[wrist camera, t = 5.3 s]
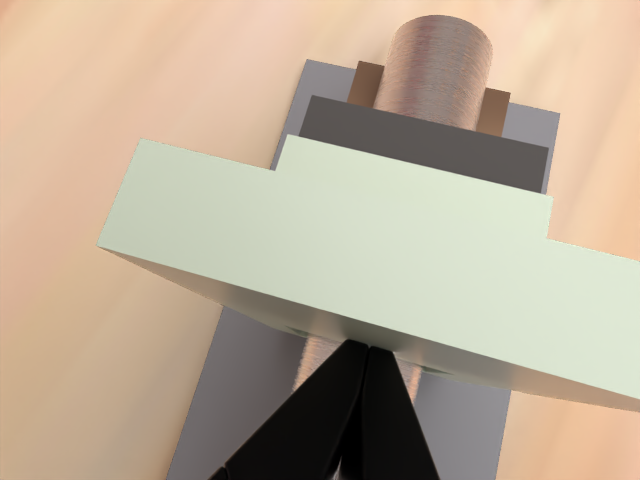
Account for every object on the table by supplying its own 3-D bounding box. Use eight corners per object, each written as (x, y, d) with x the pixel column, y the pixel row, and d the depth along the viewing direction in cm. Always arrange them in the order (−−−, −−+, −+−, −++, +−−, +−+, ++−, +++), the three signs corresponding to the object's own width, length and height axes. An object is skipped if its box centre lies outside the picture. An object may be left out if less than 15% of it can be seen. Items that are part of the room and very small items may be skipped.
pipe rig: (436, 767, 13) (509, 1098, 7) (117, 640, 14) (-44, 834, 8) (553, 121, 18) (653, 3, 12) (307, 68, 19) (290, -62, 13)
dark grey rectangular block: (472, 255, 15) (539, 197, 10) (313, 214, 16) (297, 140, 10) (479, 221, 15) (548, 147, 10) (323, 182, 16) (311, 94, 11)
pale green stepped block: (455, 381, 14) (753, 431, 4) (270, 327, 15) (95, 246, 5) (480, 259, 15) (775, 28, 5) (305, 214, 16) (227, -71, 5)
